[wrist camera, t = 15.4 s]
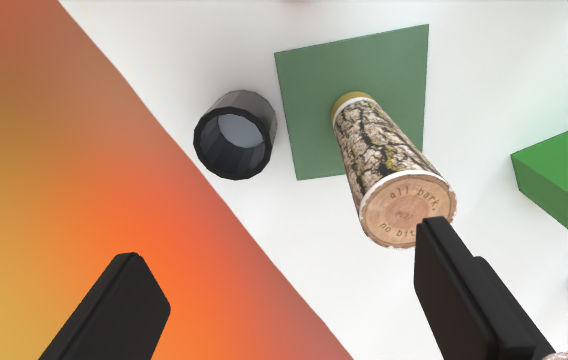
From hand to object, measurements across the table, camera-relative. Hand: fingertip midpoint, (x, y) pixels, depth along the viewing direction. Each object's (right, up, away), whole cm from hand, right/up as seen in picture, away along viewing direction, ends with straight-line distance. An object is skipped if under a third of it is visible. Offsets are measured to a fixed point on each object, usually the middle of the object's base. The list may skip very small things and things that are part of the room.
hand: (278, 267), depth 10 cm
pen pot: (-6, +12, +35) cm, 37 cm away
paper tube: (+10, +13, +33) cm, 37 cm away
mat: (+10, +13, +33) cm, 37 cm away
